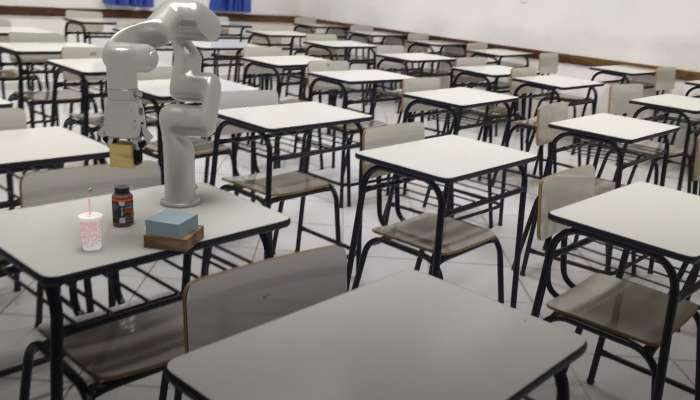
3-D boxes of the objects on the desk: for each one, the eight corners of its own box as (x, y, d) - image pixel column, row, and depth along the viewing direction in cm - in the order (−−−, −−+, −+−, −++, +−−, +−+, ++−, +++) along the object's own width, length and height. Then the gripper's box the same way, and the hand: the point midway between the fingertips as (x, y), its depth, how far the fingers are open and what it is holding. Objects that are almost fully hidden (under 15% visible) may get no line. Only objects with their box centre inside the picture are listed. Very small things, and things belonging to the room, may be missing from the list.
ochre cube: (122, 161, 188) (120, 139, 186) (142, 163, 187) (141, 141, 185) (110, 166, 182) (108, 144, 181) (131, 168, 181) (130, 146, 179)
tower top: (166, 222, 193) (165, 208, 192) (198, 227, 191) (197, 213, 189) (145, 233, 184) (145, 219, 183) (178, 239, 182) (178, 224, 180)
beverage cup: (95, 241, 186) (92, 192, 182) (109, 247, 183) (106, 196, 179) (75, 247, 182) (71, 196, 178) (89, 253, 178) (85, 201, 174)
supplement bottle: (127, 228, 198) (125, 190, 195) (108, 225, 199) (106, 187, 196) (138, 221, 203) (136, 184, 200) (119, 219, 205) (117, 182, 201)
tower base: (163, 234, 196) (163, 221, 194) (204, 239, 194) (203, 225, 192) (144, 249, 184) (143, 235, 183) (186, 254, 182) (186, 240, 181)
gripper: (160, 95, 181) (163, 162, 186) (100, 90, 184) (104, 156, 189) (146, 99, 174) (149, 169, 179) (84, 94, 177) (89, 162, 182)
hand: (126, 161), depth 184 cm, fingers closed on ochre cube, 6 cm apart
